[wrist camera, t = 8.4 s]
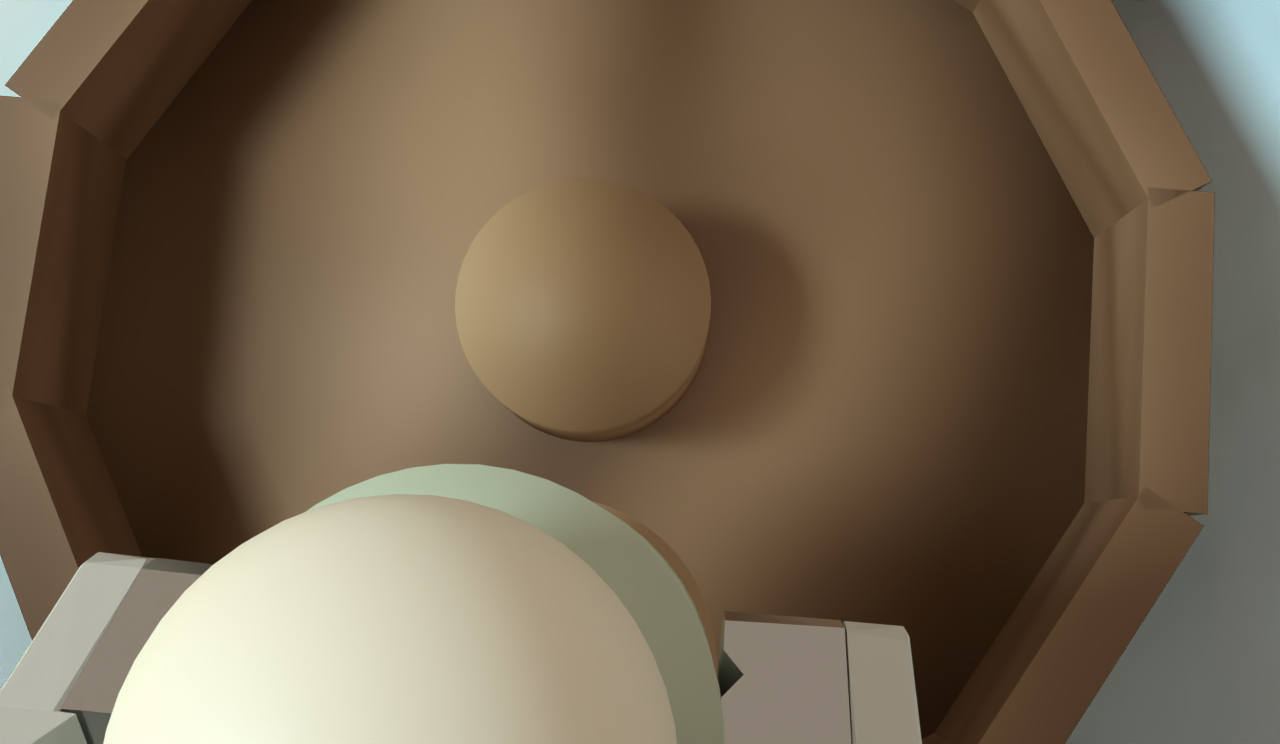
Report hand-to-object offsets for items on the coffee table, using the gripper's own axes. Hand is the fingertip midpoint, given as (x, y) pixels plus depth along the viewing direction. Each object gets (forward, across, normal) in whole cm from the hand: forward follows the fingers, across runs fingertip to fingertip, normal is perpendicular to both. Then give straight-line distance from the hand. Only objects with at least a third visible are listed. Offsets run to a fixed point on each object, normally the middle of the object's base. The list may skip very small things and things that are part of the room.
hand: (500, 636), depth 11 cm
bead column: (+3, 0, +4) cm, 5 cm away
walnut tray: (+11, 0, +4) cm, 12 cm away
